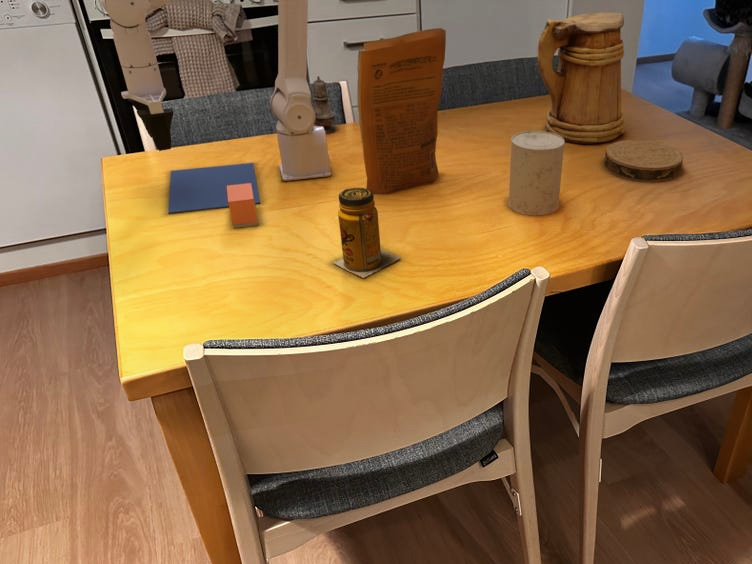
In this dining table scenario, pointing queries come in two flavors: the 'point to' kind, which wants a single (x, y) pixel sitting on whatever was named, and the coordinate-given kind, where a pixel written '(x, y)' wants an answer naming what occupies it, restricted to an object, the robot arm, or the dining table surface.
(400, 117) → the pancake mix bag
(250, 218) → the orange rectangular block
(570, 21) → the tankard
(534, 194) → the grey stone cylinder
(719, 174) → the dining table surface
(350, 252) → the condiment
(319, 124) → the grey pagoda figurine
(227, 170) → the cloth
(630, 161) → the brown round disc
